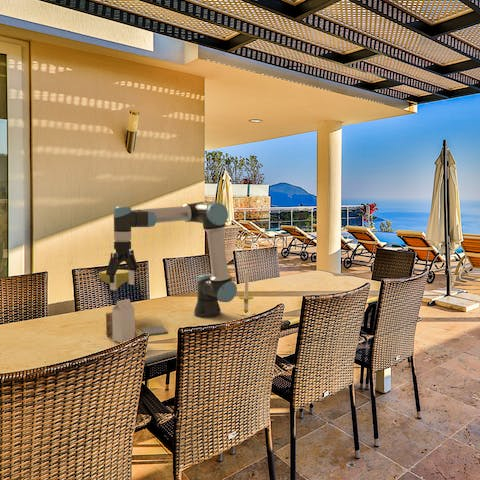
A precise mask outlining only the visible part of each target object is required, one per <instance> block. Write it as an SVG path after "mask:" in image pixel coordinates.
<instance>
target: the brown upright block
mask: <svg viewBox="0 0 480 480" xmlns="http://www.w3.org/2000/svg"><path fill="white" fill-rule="evenodd" d="M105 324H106V325H105V326H106V327H105V328H106V329H105V330H106V332H105V335H107V336H106V338H112V336H113V323H112V312H106V313H105ZM111 335H112V336H111Z"/></svg>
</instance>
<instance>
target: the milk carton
mask: <svg viewBox="0 0 480 480" xmlns="http://www.w3.org/2000/svg"><path fill="white" fill-rule="evenodd" d="M135 312H136V311H135V307H134V305H133V303H132V302H131V299H130V298H127V299H126V298H125V299H121V300H117V304H116V303H115V305H114V306H113V308H112V323H113V335H112V341H113V342H116V341H117V343H119V342H120V343H119V344H122V342H124V341H127V340H130V339H132V338H134V337H135V338H136V332H135V331H136V327H135V325H136V322H135V316H136V315H135Z"/></svg>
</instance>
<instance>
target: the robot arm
mask: <svg viewBox="0 0 480 480" xmlns="http://www.w3.org/2000/svg"><path fill="white" fill-rule="evenodd" d="M112 217H113V240H114V242H113V250H115V252H111V253H110V259H109V262H108V265H107V268H106V269H107V271H106V274H107V275H109V276H110V284H109V290H110V291H116V275H115V274H116V271H117V269H118V268H120V265H121V264H122V263H123V262H125V264H126V266H127V267H128V269H130V270H129V281H128V285H133V286H134V285H135V275H136V274H135V272H136V271H137V269H138V268H139V266H138V263H137V261H136V257H135V252H134V249H132V228H151V227H155V226H156V224H159V223H161V224H162V223H169V222H170V223H171V222H181V221H182V222H183V221H184V222H185V223H199V224H202V229H203V230H204V231H205V232H206V235H207V237H206V238H207V244H208V252H209V259H210V267H211V273H205V274H200V275H198V276H197V282H196V283H197V286H196V287H197V298H196V299H197V301H196V304H195V307H194V310H193V313H194V314H193V315H194V316H196V317H198V318H204V317H211V318H217V317H219V316H221V315H220V314H221V313H222V311H221V308H220V306H221V305H220V303H229V302H231V301H233V300H234V299H235V297H236V295H237V293H238V287H237V285H236V283H235V282H234V281H232V280H233V279H232V274H230V273H229V269H228V260H227V253H226V245H225V237H224V229H225V227H226V223H227V220H228V219H229V212H228V209H227V207H226V206H225V204H223V203H222V202H217V201H198V202H193V203H186V204H183V205H182V206H169V207H155V208H142V209H141V208H139V209H132V208H131V206H115V207H114V208H113V216H112ZM109 271H110V272H109ZM219 302H220V303H219ZM216 316H217V317H216Z"/></svg>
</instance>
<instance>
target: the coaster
mask: <svg viewBox="0 0 480 480" xmlns="http://www.w3.org/2000/svg"><path fill="white" fill-rule="evenodd" d="M140 330H141V332H142V333H143V334H144V333H146V332H147V333H149V336H157V335H165V334H169V332H168V330H167V329H166V327H165V326H164V325H163V324H160V325H154V326H153V325H151V326H144V327H140Z"/></svg>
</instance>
